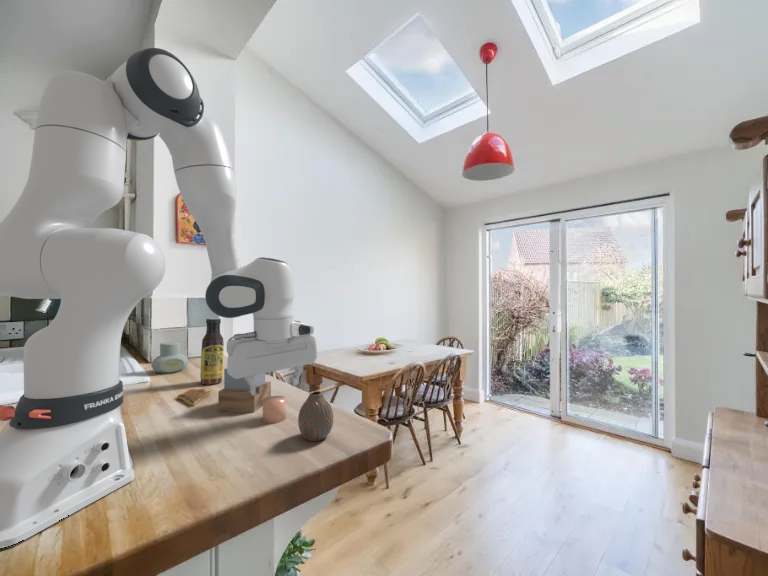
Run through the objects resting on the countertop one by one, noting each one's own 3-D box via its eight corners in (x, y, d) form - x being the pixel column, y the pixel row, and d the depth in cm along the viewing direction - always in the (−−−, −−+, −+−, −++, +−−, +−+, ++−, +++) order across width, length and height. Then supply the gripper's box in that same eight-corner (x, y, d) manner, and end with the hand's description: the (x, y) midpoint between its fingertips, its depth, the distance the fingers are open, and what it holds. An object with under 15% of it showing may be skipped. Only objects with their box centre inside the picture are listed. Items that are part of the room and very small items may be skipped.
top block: (250, 391, 83) (250, 370, 83) (224, 389, 84) (224, 369, 84) (265, 382, 90) (265, 363, 90) (240, 381, 91) (240, 362, 91)
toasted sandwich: (193, 408, 85) (193, 401, 85) (162, 409, 85) (162, 402, 85) (213, 395, 96) (213, 388, 96) (186, 395, 96) (186, 388, 96)
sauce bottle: (202, 386, 102) (202, 319, 102) (198, 382, 107) (197, 318, 107) (226, 382, 106) (226, 318, 106) (221, 378, 111) (220, 317, 111)
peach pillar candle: (280, 423, 75) (280, 403, 75) (258, 423, 75) (258, 402, 75) (289, 415, 80) (289, 396, 80) (268, 414, 80) (268, 395, 80)
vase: (340, 434, 70) (340, 390, 70) (317, 448, 64) (317, 400, 64) (314, 426, 73) (314, 385, 73) (290, 439, 67) (290, 394, 67)
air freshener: (185, 366, 127) (185, 339, 127) (190, 371, 121) (190, 342, 121) (150, 371, 120) (149, 343, 120) (153, 376, 114) (153, 346, 114)
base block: (254, 413, 82) (254, 392, 82) (218, 412, 83) (218, 391, 83) (270, 400, 91) (270, 381, 91) (238, 399, 92) (238, 380, 92)
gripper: (231, 337, 69) (233, 404, 70) (320, 326, 83) (320, 382, 84) (221, 333, 74) (223, 396, 75) (306, 323, 87) (307, 376, 88)
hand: (275, 389), depth 79 cm, fingers open, 8 cm apart
